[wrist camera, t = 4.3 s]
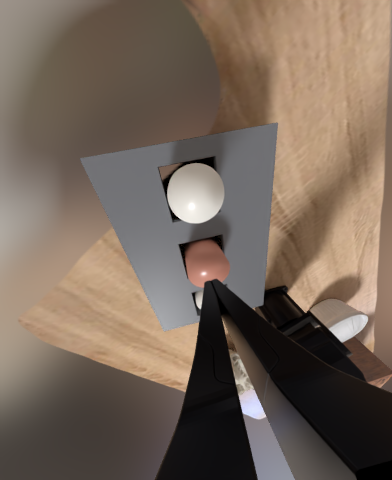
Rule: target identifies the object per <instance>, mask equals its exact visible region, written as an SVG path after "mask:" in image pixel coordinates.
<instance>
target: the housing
mask: <svg viewBox="0 0 392 480" xmlns="http://www.w3.org/2000/svg"><path fill="white" fill-rule="evenodd" d="M277 128H278V123H272V124H267V125H261V126H256V127H250V128H245V129H239V130H234V131H228V132H223V133H217V134H212V135H206V136H202V137H195V138H190V139H184V140H179V141H173V142H169V143H163V144H157V145H151V146H146V147H140V148H135V149H130V150H124V151H118V152H114V153H107V154H102V155H96V156H91V157H86V158H80V160H81V162H82V164H83V166H84V169H85V170H86V172H87V175H88V177H89V179H90V181H91V183H92V185H93V187H94V189H95V191H96V193H97V195H98V197H99V199H100V201H101V203H102V205H103V207H104V210H105V212H106V214H107V216H108V218H109V220H110V222H111V224H112V226H113V228H114V230H115V232H116V234H117V236H118V238H119V240H120V242H121V244H122V246H123V249H124V251H125V253H126V255H127V257H128V259H129V261H130V263H131V265H132V267H133V269H134V271H135V273H136V275H137V277H138V279H139V281H140V283H141V285H142V288H143V290H144V292H145V294H146V296H147V298H148V300H149V302H150V304H151V306H152V308H153V310H154V312H155V314H156V316H157V318H158V320H159V322H160V324H161V326H162V329H163V331H168V330H171V329H175V328H179V327H183V326H186V325H190V324H194V323H198V322H199V321H200V313H201V309H199V308H198V306H197V304H196V299H195V293H193V294H192V292H196V291H200V290H204V288H201V287H198V286H195V285H194V284H192V283H191V282H190V280H189V278H188V274H187V273H186V269H185V266H184V262H183V258H182V254H181V251H180V247H179V244H182V243H186V242H191V241H195V240H200V239H204V238H208V237H213V236H217V235H221V241H222V251H223V253H224V255H225V256H226V258H227V260H228V261H229V264H230V271H229V274H228V276H227V277H226V279H225V280H224V281H223V282H222V283H223V284H226V285H225V286H226V287H227V288H229V289H230V290H231V291H232V292H233V293H235V294H236V295H237V296H238V297H239V298H240V299H242V300H243V301H244V302H245V303H246V304H247V305H249V306H250V307H251V308H254V307H258V306H262V305H263V302H264V289H265V277H266V264H267V252H268V240H269V227H270V215H271V202H272V190H273V178H274V165H275V153H276V140H277ZM209 157H213V160H214V170H215V171H216V172H217V173H218V174H219V176H220V177H221V179H222V182H223V185H224V200H223V204H222V206H221V208H220V210H219V211H218V212H217V214H216V215H215V216H214V217H212V218H211V219H209V220H208V221H205V222H202V223H188V222H185V221H183V220H181V219H176V220H172V217H171V213H170V209H169V205H168V202H167V198H166V194H165V190H164V186H163V183H162V179H161V175H160V171H159V168H158V167H162V166H167V165H172V164H178V163H183V162H188V161H193V160H198V159H204V158H209Z"/></svg>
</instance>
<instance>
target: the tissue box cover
mask: <svg viewBox="0 0 392 480" xmlns="http://www.w3.org/2000/svg"><path fill="white" fill-rule="evenodd" d="M342 343H343V344H344V345H345V346H346V347H347V348H348V349H349V350H350V352H351V353H352V354H353V355H351V356H349V357H348V358H349V359H350V360H351V361H352V362H353V363H354V364H355V365H356V366H357V367H358V368H359V369H360V370H361V372H362V373H363V375H364V377H365V379H366V381H367V383H370V384H372V385H374V386H377V387H379V388H381V387H382V386H383V385H384V384H385V383H386V382H387V381H388V380H389V379H390V378H391V377H392V370H391V369H390V368H388V367H387V366H386V365H385V364H384V363H383V362H382V361H381V360H380V359H378V358H377V357H376V356H375V355H374V354H373V353H372V352H371V351H370V350H369V349H367V348H366V347H365V346H364V345H363V344H362V343H361V342H360V341H359V340H357V339H356V338H355V337H354V336H353V337H352V338H350V339H348V340H346V341H344V342H342Z"/></svg>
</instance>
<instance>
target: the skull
mask: <svg viewBox="0 0 392 480" xmlns="http://www.w3.org/2000/svg"><path fill="white" fill-rule="evenodd" d="M229 354H230V358H231V363H232V368H233V372H234V377H235V382H236V387H237V391H238V395H241V394H243V393H244V392H245V391H248V390H250V389H253V390H254V388H253V385H252V383H251V381H250V379H249V377H248V374H247V372H246V370H245V368H244V365H243V363H242V361H241V359H240V357H239V354H238V352H235V351H232V350H230V349H229Z"/></svg>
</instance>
